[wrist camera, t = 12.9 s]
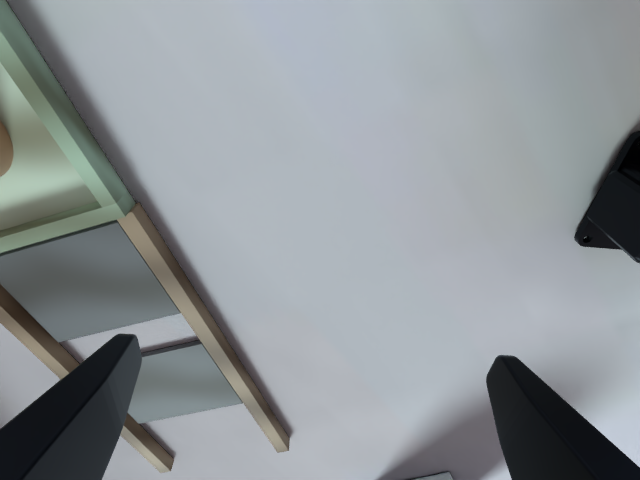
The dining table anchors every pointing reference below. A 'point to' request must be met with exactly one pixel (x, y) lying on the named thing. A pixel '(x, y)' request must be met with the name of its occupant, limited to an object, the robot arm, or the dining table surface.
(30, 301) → the frame
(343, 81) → the dining table surface
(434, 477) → the skincare box
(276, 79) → the dining table surface
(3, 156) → the peach capsule
